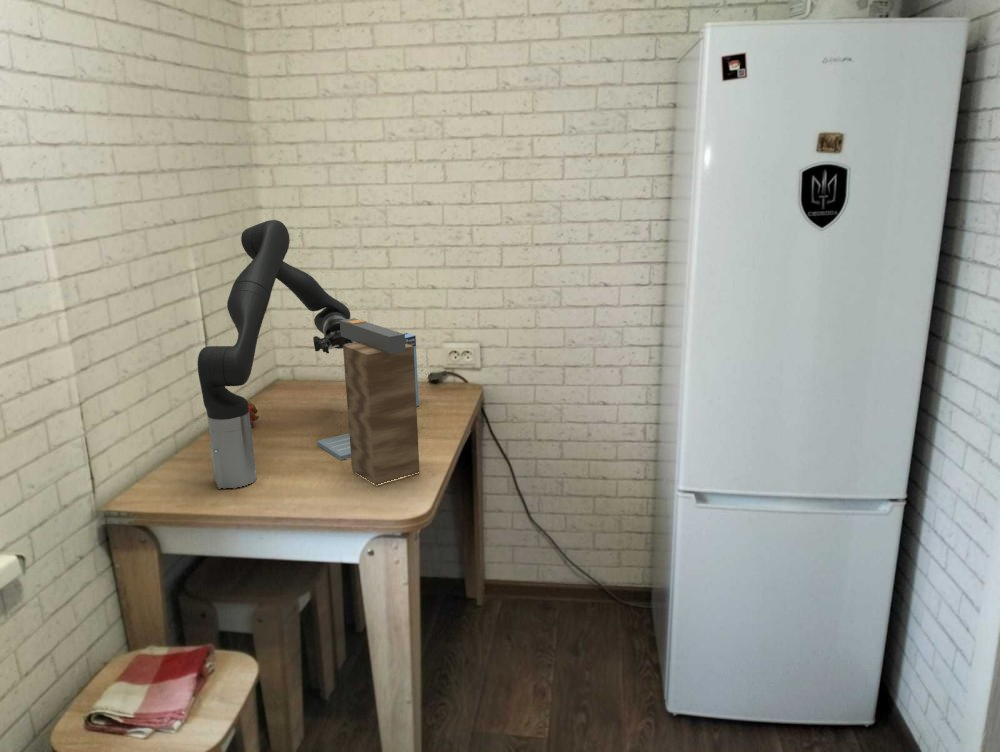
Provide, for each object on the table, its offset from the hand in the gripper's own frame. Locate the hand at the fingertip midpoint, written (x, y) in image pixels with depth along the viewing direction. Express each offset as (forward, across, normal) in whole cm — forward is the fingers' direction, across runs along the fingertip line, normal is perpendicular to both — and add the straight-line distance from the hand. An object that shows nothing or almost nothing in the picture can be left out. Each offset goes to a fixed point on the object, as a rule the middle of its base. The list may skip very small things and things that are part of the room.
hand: (344, 346), depth 186 cm
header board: (-2, -4, +28) cm, 29 cm away
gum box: (-28, +12, +31) cm, 43 cm away
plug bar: (+14, +6, -4) cm, 15 cm away
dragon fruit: (-27, -31, +27) cm, 49 cm away
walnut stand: (+18, +4, +28) cm, 34 cm away
